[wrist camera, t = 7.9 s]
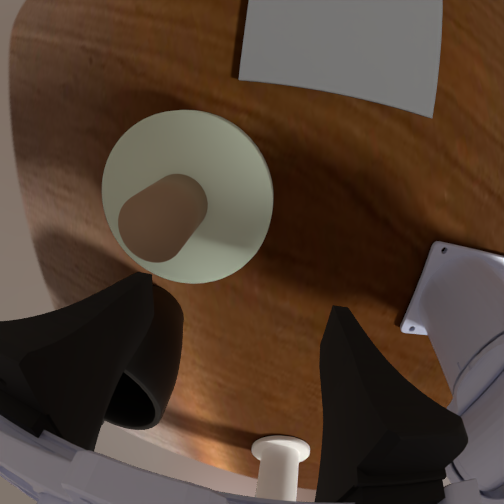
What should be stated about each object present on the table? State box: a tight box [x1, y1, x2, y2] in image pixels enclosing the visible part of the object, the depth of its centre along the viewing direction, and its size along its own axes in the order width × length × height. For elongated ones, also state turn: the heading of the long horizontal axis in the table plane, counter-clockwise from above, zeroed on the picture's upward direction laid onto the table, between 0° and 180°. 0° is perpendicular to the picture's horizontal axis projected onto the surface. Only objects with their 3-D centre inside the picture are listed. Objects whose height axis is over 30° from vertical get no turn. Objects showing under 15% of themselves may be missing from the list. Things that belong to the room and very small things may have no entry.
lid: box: [102, 110, 274, 283], centre depth 14 cm, size 9×9×5 cm
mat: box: [238, 0, 442, 118], centre depth 14 cm, size 12×10×1 cm
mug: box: [102, 285, 184, 430], centre depth 22 cm, size 8×12×10 cm
